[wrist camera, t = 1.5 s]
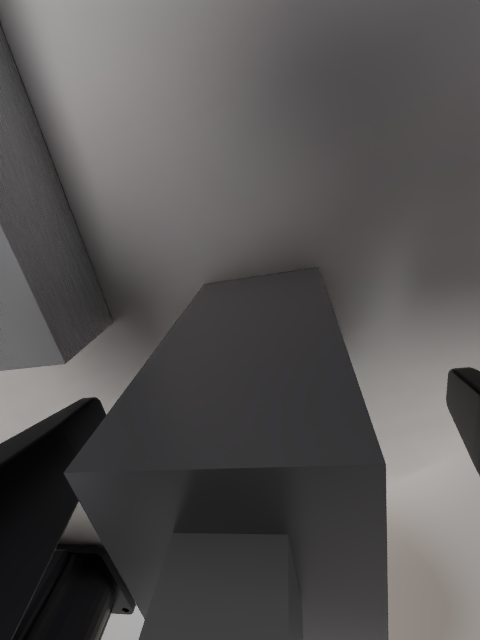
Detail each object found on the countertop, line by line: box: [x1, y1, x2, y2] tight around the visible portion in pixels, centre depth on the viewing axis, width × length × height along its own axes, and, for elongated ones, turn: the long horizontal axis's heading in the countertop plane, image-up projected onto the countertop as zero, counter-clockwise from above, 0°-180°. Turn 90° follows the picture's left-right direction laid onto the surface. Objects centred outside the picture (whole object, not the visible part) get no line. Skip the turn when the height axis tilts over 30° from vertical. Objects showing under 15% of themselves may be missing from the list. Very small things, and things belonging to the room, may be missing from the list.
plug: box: [64, 267, 388, 640], centre depth 8 cm, size 4×4×9 cm
